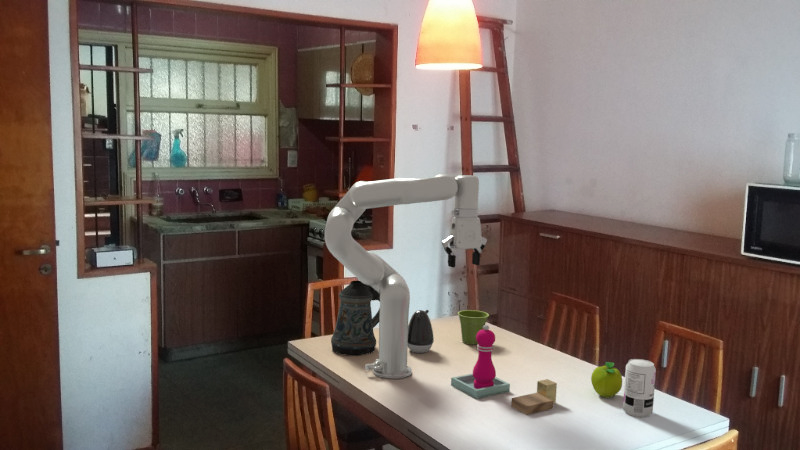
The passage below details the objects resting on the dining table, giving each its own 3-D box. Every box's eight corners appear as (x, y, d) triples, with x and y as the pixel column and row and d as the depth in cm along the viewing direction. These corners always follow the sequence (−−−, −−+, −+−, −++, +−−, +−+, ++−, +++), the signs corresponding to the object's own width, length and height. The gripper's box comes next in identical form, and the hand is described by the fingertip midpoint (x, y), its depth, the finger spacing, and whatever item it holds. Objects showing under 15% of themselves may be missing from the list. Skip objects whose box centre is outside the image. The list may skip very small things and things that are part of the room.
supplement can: (618, 407, 213) (621, 358, 211) (645, 407, 213) (649, 358, 211) (629, 418, 205) (633, 367, 203) (657, 418, 205) (661, 367, 203)
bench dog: (545, 404, 213) (546, 385, 212) (536, 400, 216) (537, 381, 216) (555, 402, 215) (556, 383, 214) (546, 398, 218) (547, 379, 218)
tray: (476, 398, 216) (476, 390, 216) (451, 385, 227) (451, 377, 227) (509, 391, 223) (509, 383, 223) (483, 378, 234) (483, 371, 234)
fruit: (621, 392, 225) (623, 361, 223) (620, 403, 216) (622, 371, 215) (591, 388, 228) (593, 358, 226) (589, 398, 219) (591, 367, 218)
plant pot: (489, 347, 268) (490, 318, 267) (457, 346, 268) (458, 317, 267) (485, 338, 280) (487, 310, 279) (455, 337, 280) (456, 309, 279)
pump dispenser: (438, 350, 263) (440, 309, 261) (424, 357, 255) (425, 315, 253) (414, 345, 269) (416, 305, 267) (399, 351, 260) (401, 310, 258)
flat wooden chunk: (526, 416, 205) (527, 406, 205) (511, 407, 211) (511, 398, 211) (553, 410, 210) (553, 400, 210) (536, 402, 216) (537, 392, 216)
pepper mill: (494, 392, 220) (497, 328, 218) (470, 390, 222) (473, 326, 219) (496, 384, 227) (498, 322, 225) (473, 382, 229) (475, 321, 226)
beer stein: (321, 348, 261) (322, 281, 258) (358, 338, 276) (360, 274, 272) (353, 359, 250) (355, 289, 247) (391, 347, 265) (392, 281, 261)
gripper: (450, 215, 225) (448, 269, 227) (494, 214, 233) (491, 265, 236) (437, 213, 231) (435, 265, 233) (480, 211, 240) (478, 261, 242)
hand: (463, 265), depth 234 cm, fingers open, 9 cm apart
